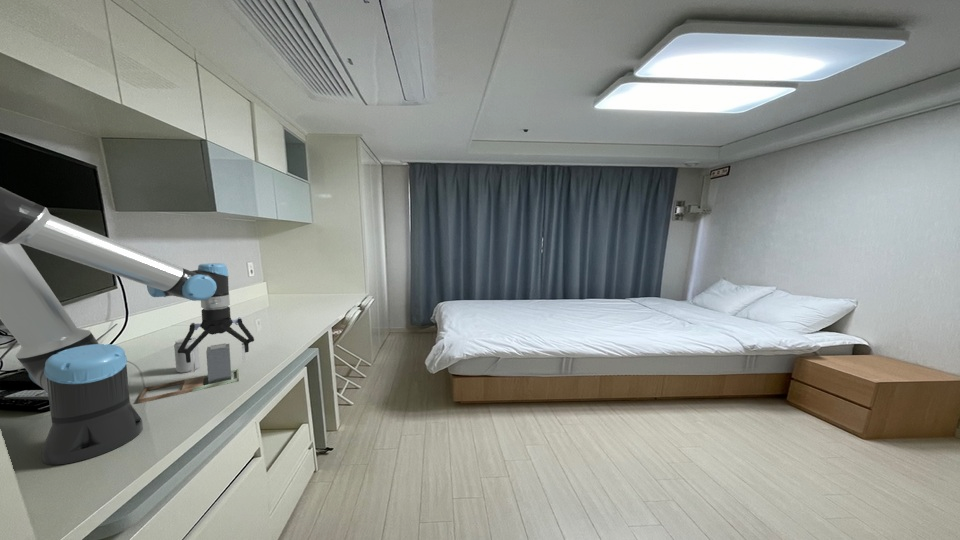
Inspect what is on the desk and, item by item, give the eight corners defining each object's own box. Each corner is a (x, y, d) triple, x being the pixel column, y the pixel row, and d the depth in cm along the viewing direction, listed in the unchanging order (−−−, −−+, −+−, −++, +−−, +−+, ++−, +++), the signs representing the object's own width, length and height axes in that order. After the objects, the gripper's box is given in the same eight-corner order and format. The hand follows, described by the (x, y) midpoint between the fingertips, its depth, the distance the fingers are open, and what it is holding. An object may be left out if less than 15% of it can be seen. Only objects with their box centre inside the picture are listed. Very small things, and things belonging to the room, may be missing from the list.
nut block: (208, 385, 103) (206, 350, 101) (209, 379, 107) (207, 345, 106) (231, 380, 106) (229, 346, 105) (231, 374, 111) (229, 342, 110)
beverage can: (204, 367, 117) (202, 337, 116) (186, 374, 111) (184, 342, 109) (189, 366, 118) (187, 336, 116) (171, 373, 111) (168, 342, 110)
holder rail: (137, 403, 91) (137, 400, 91) (145, 390, 99) (145, 387, 98) (238, 381, 106) (238, 378, 106) (238, 371, 114) (238, 368, 114)
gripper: (162, 314, 93) (167, 379, 95) (260, 305, 109) (263, 360, 111) (166, 310, 99) (171, 371, 101) (259, 301, 115) (262, 354, 117)
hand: (219, 365), depth 106 cm, fingers open, 13 cm apart
